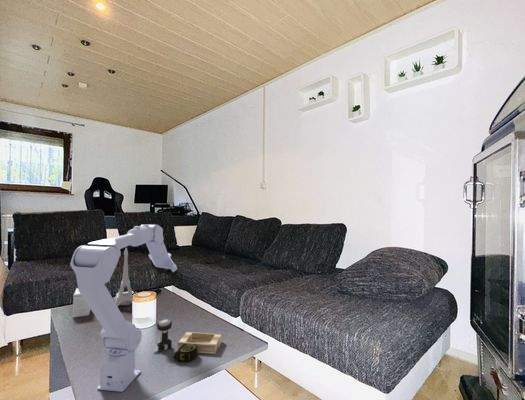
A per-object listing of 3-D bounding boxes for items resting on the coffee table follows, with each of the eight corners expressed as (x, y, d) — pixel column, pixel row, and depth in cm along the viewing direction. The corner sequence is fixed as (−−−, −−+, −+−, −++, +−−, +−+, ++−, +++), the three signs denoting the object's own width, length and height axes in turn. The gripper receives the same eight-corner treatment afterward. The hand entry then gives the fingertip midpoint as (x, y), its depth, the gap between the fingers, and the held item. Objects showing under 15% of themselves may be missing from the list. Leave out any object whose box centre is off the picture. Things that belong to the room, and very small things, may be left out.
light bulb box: (75, 309, 137) (75, 288, 137) (91, 307, 140) (91, 286, 141) (72, 318, 128) (72, 294, 128) (89, 315, 131) (90, 292, 131)
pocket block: (215, 353, 99) (215, 345, 99) (177, 350, 101) (177, 342, 101) (221, 341, 107) (221, 334, 108) (186, 339, 109) (187, 331, 109)
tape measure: (182, 352, 100) (182, 341, 100) (200, 353, 99) (200, 343, 99) (173, 362, 94) (173, 351, 94) (192, 364, 92) (192, 353, 92)
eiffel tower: (110, 313, 134) (111, 250, 134) (110, 304, 146) (111, 246, 146) (140, 308, 141) (141, 249, 141) (138, 300, 152) (139, 245, 153)
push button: (157, 355, 97) (157, 327, 98) (150, 349, 101) (150, 322, 101) (174, 348, 102) (174, 321, 102) (167, 343, 106) (167, 317, 106)
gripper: (179, 251, 102) (188, 276, 110) (155, 239, 110) (164, 263, 117) (164, 263, 98) (174, 289, 105) (139, 250, 105) (150, 274, 112)
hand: (168, 276), depth 111 cm, fingers open, 7 cm apart
